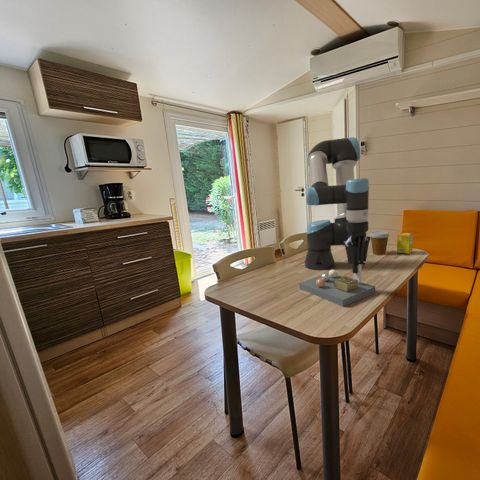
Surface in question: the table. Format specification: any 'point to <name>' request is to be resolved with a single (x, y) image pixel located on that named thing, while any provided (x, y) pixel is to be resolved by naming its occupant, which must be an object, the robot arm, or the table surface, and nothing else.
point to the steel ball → (325, 277)
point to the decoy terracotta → (320, 282)
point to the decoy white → (332, 273)
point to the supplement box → (404, 243)
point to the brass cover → (346, 283)
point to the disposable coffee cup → (379, 242)
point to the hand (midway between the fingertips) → (357, 280)
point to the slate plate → (337, 291)
